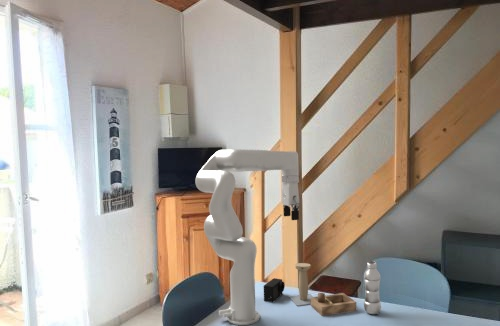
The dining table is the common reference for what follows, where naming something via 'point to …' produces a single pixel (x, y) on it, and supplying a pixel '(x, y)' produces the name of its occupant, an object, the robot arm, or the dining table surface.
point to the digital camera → (273, 290)
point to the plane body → (333, 304)
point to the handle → (303, 279)
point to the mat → (300, 302)
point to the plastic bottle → (372, 289)
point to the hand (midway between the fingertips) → (291, 217)
